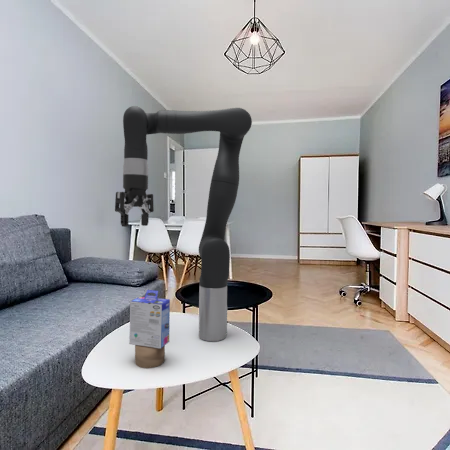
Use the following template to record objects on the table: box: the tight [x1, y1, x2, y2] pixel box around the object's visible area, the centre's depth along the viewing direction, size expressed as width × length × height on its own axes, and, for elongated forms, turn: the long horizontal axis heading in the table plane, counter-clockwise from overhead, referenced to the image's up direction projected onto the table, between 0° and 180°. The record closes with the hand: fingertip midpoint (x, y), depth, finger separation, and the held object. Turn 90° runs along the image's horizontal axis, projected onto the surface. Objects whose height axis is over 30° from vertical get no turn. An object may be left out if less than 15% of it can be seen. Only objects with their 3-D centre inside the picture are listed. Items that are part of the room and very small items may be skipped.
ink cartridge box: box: [128, 289, 171, 348], centre depth 87 cm, size 10×6×14 cm, turn 76°
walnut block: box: [134, 345, 166, 369], centre depth 87 cm, size 8×8×5 cm
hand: (135, 226), depth 99 cm, fingers open, 8 cm apart
